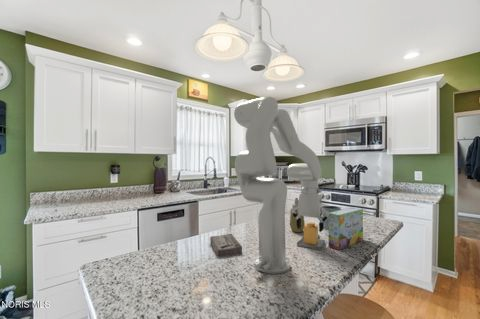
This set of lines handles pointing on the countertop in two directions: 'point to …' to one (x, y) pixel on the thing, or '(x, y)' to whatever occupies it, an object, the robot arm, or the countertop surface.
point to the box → (225, 245)
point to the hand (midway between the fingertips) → (309, 229)
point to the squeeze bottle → (293, 220)
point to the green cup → (330, 209)
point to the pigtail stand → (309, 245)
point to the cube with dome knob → (311, 233)
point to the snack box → (345, 227)
